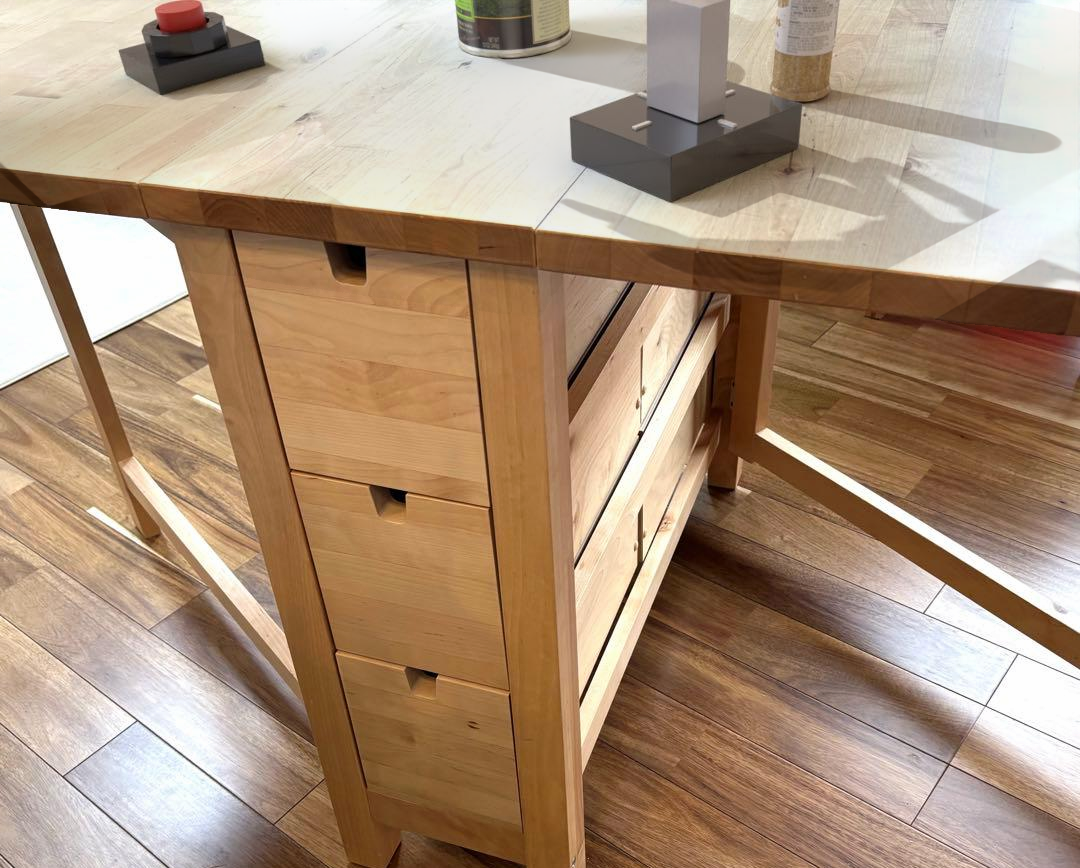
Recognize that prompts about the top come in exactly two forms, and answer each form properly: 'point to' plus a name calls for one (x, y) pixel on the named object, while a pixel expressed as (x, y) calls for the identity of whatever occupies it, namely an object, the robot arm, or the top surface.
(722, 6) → the light grey upright block
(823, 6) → the sprinkles bottle
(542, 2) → the coffee can
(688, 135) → the dark grey flat block
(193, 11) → the ignition button
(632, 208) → the top surface
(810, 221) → the top surface
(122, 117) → the top surface
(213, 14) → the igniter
